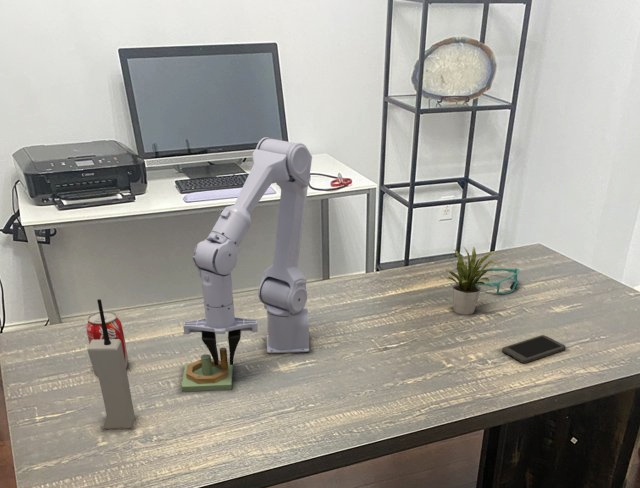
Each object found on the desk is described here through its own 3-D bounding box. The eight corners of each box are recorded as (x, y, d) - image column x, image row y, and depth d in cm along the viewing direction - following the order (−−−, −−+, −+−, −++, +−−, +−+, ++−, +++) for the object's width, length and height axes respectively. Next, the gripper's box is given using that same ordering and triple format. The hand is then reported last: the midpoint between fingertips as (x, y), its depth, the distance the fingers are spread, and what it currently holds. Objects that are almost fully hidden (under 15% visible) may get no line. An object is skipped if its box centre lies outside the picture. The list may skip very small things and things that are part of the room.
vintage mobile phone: (108, 418, 129) (82, 295, 115) (135, 418, 129) (113, 294, 115) (104, 429, 126) (77, 303, 112) (131, 429, 126) (108, 303, 112)
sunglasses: (507, 298, 181) (508, 280, 179) (456, 291, 189) (456, 274, 186) (526, 282, 191) (527, 265, 189) (477, 276, 199) (477, 259, 196)
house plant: (505, 308, 176) (515, 247, 167) (484, 327, 166) (493, 262, 157) (455, 296, 182) (462, 236, 173) (432, 313, 173) (438, 250, 164)
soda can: (136, 364, 147) (127, 312, 140) (116, 379, 141) (106, 326, 135) (108, 358, 149) (98, 307, 142) (88, 373, 143) (76, 321, 137)
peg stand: (232, 366, 147) (231, 344, 144) (231, 389, 139) (229, 367, 136) (185, 368, 146) (183, 346, 143) (181, 391, 138) (178, 369, 135)
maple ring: (229, 363, 146) (227, 339, 143) (228, 382, 139) (225, 358, 136) (188, 364, 145) (185, 341, 142) (185, 384, 138) (182, 360, 135)
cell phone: (500, 350, 156) (500, 347, 155) (543, 337, 162) (543, 334, 162) (523, 363, 150) (524, 360, 150) (566, 349, 157) (567, 346, 156)
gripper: (179, 311, 129) (187, 373, 137) (255, 309, 131) (259, 370, 138) (182, 296, 135) (189, 357, 142) (255, 294, 137) (259, 354, 144)
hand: (224, 363), depth 141 cm, fingers closed
